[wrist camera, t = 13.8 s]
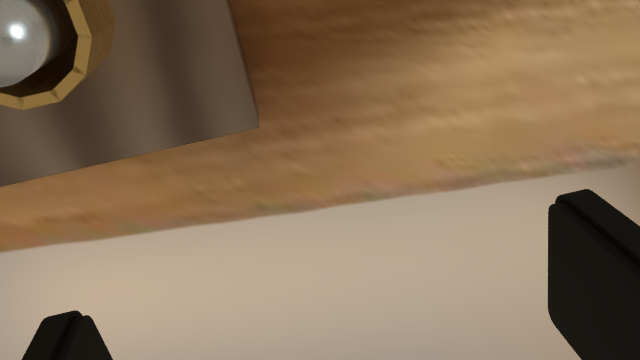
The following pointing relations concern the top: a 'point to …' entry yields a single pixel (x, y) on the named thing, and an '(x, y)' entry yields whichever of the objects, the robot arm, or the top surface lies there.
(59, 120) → the walnut stand
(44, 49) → the piston post
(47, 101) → the brass ring
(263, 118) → the top surface
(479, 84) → the top surface
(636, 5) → the top surface
